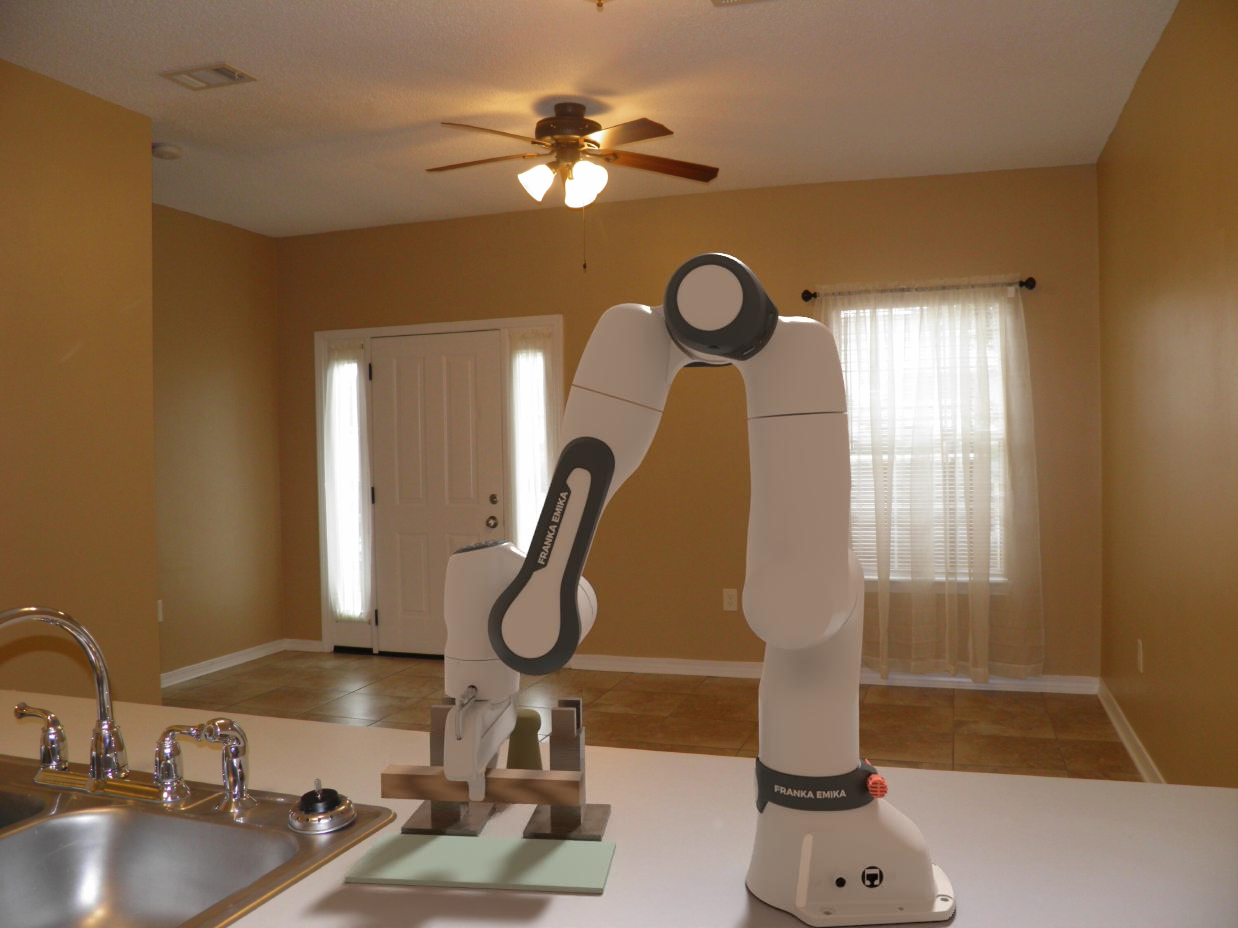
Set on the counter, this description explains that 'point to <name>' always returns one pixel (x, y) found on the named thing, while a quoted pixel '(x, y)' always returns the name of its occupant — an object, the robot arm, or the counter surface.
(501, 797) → the walnut rail
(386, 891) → the counter surface
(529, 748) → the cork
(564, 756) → the cradle posts
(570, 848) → the green mat
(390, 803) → the counter surface
